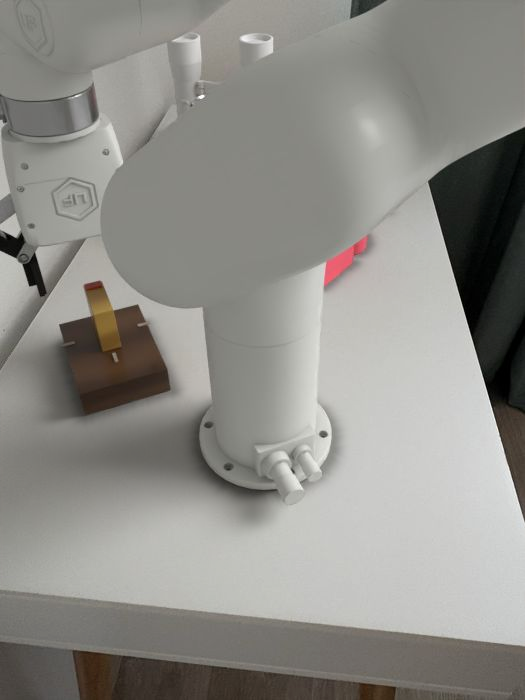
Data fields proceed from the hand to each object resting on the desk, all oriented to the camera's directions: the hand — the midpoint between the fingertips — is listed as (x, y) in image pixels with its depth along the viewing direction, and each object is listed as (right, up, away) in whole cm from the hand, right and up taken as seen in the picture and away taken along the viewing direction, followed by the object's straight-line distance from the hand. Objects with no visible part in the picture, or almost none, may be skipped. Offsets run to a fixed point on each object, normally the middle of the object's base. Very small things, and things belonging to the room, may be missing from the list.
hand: (90, 277), depth 63 cm
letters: (+26, +5, +21) cm, 34 cm away
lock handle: (+1, -6, +5) cm, 7 cm away
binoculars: (+11, +29, +48) cm, 57 cm away
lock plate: (+1, -9, +5) cm, 11 cm away
